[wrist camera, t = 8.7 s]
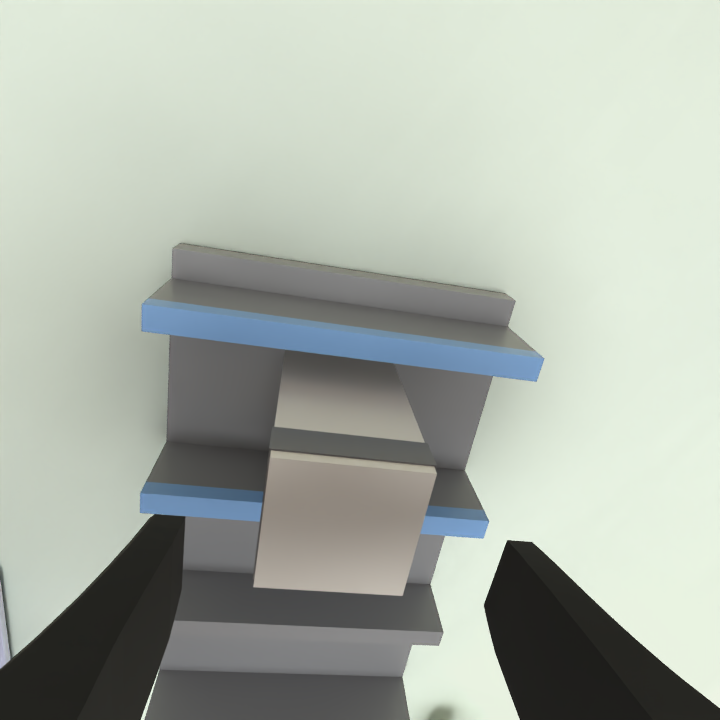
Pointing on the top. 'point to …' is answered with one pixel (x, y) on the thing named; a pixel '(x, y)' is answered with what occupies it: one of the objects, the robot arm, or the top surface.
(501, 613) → the robot arm
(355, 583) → the beige block
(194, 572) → the grey slotted rack
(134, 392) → the top surface
